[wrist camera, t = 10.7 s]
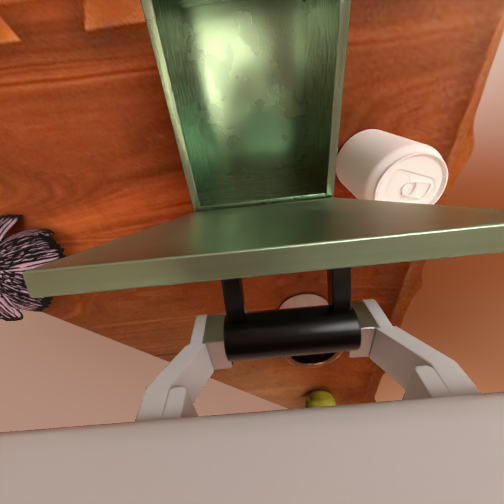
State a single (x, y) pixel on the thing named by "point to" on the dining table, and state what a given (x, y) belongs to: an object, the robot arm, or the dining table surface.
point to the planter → (312, 359)
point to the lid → (277, 262)
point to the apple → (319, 399)
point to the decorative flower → (22, 266)
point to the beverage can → (391, 168)
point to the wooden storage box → (252, 95)
